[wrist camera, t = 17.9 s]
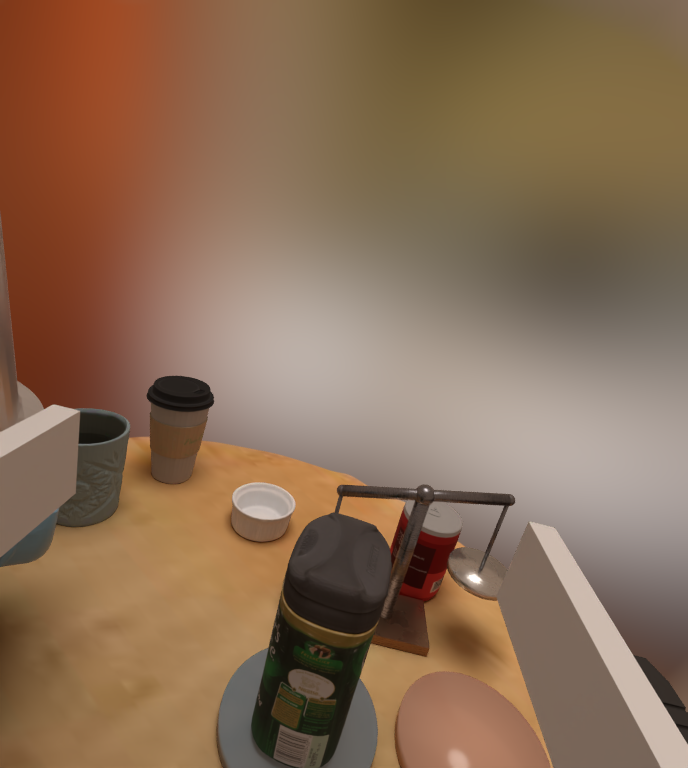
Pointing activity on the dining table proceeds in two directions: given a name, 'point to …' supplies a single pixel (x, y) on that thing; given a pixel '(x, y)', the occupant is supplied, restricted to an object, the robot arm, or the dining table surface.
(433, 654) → the dining table surface
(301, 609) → the coffee jar
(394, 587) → the balance
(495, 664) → the dining table surface
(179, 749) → the dining table surface
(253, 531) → the ramekin
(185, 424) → the coffee cup
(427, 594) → the canned food
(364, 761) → the slate dish
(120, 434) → the grey-green ceramic planter
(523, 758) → the terracotta dish
